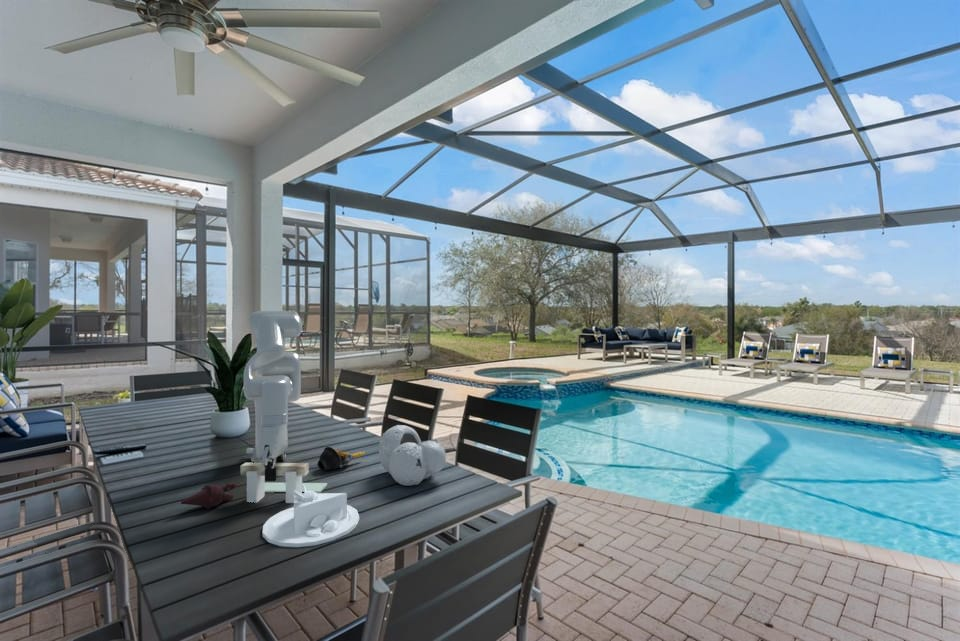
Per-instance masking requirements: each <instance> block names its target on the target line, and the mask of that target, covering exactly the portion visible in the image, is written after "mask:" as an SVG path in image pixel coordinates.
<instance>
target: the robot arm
mask: <svg viewBox="0 0 960 641" xmlns="http://www.w3.org/2000/svg"><path fill="white" fill-rule="evenodd" d="M248 324H249V328H250V330H251V332H252V334H253V336H254V339H255V341H256V352H255V353H254V354H253V355H252V356H251V357H250V358H249V360H248V362H246V364H245V367H244V370H243V395H244V397H245V399H247V400H249V401H253V402H254V410H255V412H254V414H255V415H254V417H255V425H254V426H255V427H254V428H255V432H254V433H255V434H254V435H255V439H254V440H255V447H247V448H246V453H245V454H246V455H252V456H251V458H250V461H251V463H253V462H254V463H263V465H264V468H265V482H275V481H277V476H276V468H275V463H285V460H286V457H287V453H286V451H288V446H289V435H288V422H289V418H288V417H289V413H288V412H289V404H288V403H293V402H297V401H298V400H299V399H300V397H301V393H302V392H301V389H302V384H301V383H302V378H301V377H302V376H301V375H302V374H301V373H302V369H301V368H302V367H301V366H302V365H301V364H302V363H301V358H300V355H299V354H298V353H297V352H295V351H286V342H285V341H286V340H285V338H297V337H300V335H301V334H302V331H303V324H302V319H301V317H300V315H299V313H298V312H296V311H294V310H292V311H291V310H283V311H282V310H258V311H253V312H252V313H250V314H249V316H248ZM256 371H257V374H258V375H259V376H254V373H255V372H256ZM271 462H272V463H271Z"/></svg>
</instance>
